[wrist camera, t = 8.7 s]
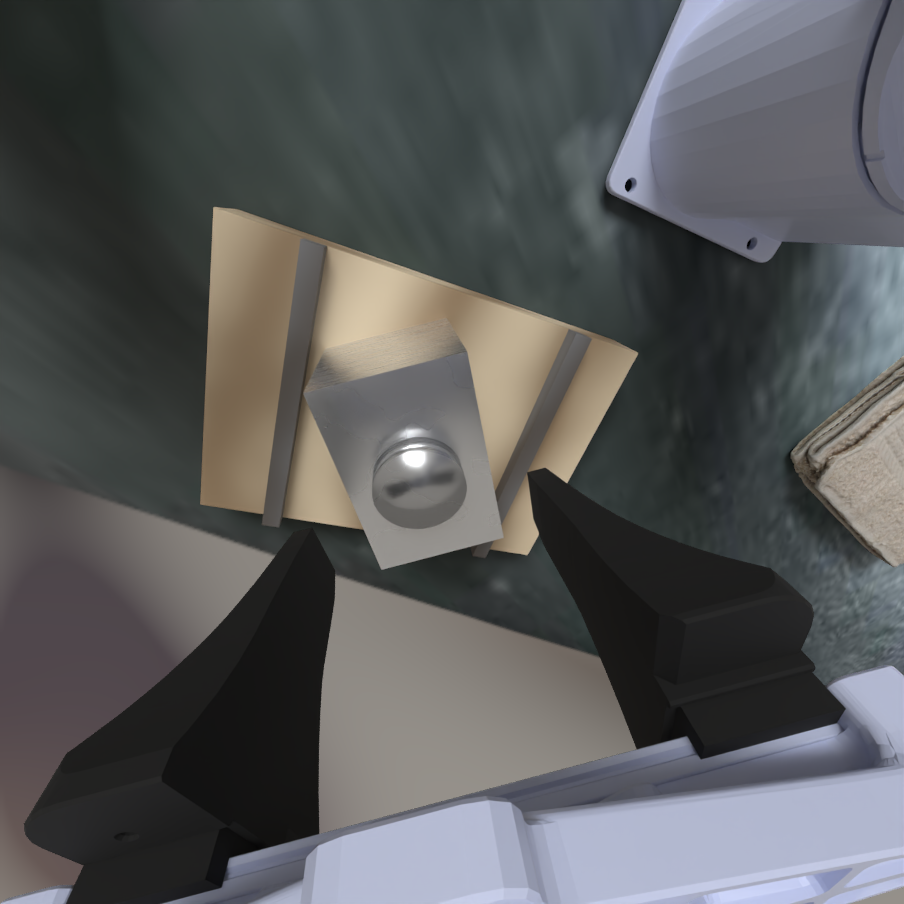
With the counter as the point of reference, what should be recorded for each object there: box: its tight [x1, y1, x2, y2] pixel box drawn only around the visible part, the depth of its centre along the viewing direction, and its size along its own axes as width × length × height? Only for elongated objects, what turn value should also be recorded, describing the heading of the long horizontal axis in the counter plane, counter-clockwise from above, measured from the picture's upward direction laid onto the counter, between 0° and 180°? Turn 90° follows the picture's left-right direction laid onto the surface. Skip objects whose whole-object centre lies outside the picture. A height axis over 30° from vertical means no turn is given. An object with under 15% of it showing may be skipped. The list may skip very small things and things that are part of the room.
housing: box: [303, 318, 504, 570], centre depth 16 cm, size 8×5×6 cm, turn 13°
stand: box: [200, 207, 638, 558], centre depth 20 cm, size 18×13×3 cm
